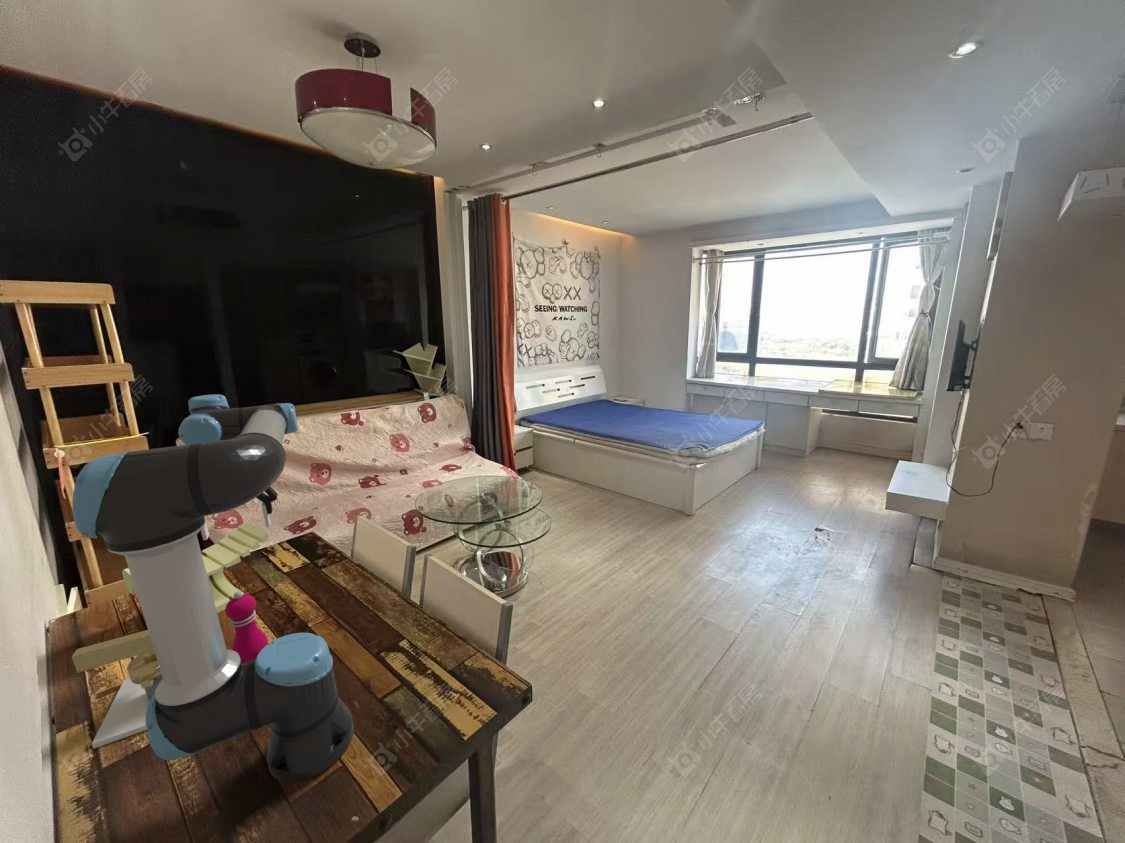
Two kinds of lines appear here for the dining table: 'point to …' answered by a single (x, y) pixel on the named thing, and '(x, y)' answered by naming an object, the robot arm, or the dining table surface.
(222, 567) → the slatted curved stool
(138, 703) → the base
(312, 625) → the dining table surface
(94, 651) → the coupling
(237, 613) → the pepper mill
